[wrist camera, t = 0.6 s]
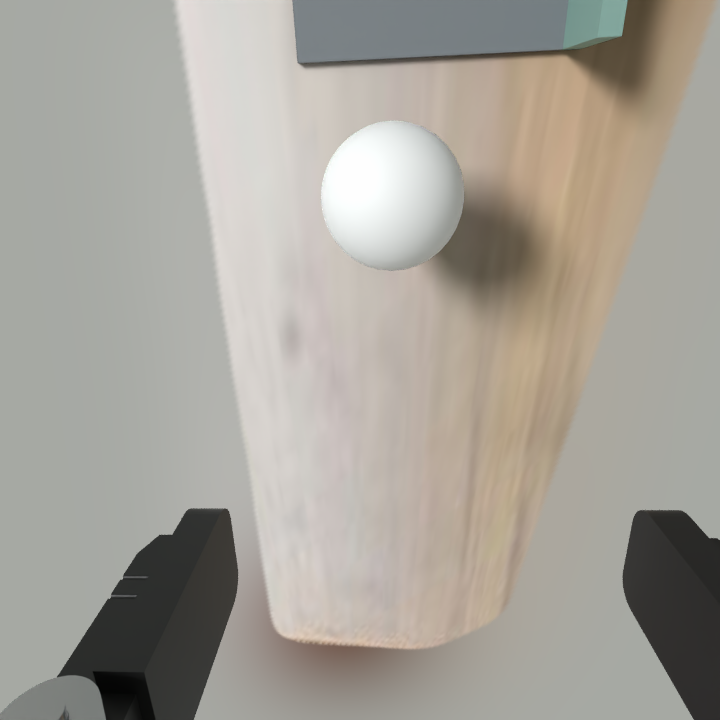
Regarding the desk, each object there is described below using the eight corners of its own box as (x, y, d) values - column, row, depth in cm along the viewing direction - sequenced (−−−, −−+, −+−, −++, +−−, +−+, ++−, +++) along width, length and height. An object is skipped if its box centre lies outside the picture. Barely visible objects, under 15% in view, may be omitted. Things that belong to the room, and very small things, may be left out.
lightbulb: (403, 250, 31) (412, 316, 21) (317, 193, 29) (283, 234, 19) (465, 160, 28) (509, 187, 18) (375, 93, 27) (369, 83, 17)
